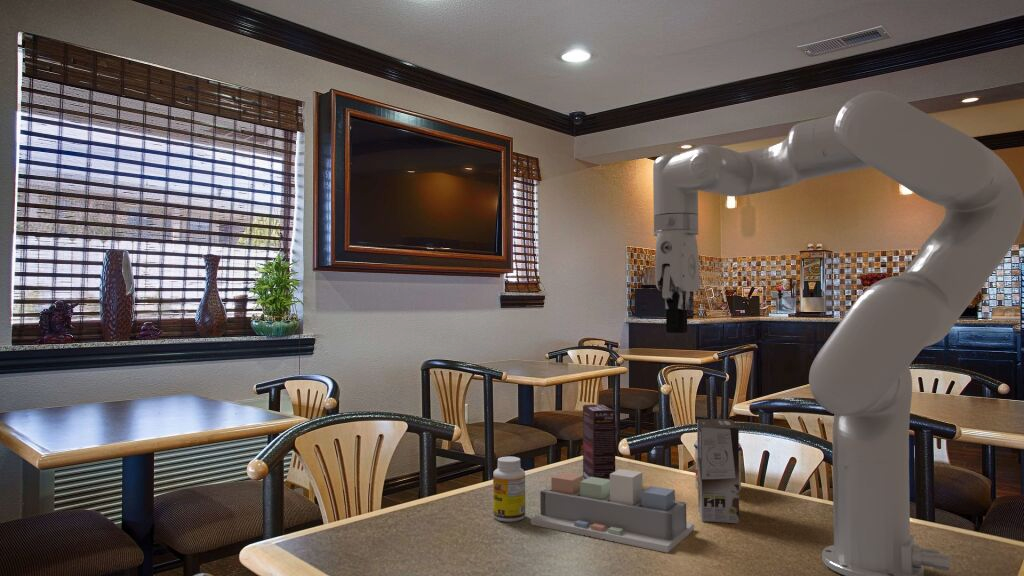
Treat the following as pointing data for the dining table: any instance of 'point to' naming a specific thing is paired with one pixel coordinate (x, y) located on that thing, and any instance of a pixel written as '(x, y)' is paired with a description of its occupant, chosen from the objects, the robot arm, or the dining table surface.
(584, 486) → the key
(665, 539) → the grey block holder
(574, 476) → the pink block
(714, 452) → the coffee box
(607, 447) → the supplement box
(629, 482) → the key
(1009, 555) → the dining table surface
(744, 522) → the dining table surface
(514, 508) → the supplement bottle
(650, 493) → the blue-grey block
